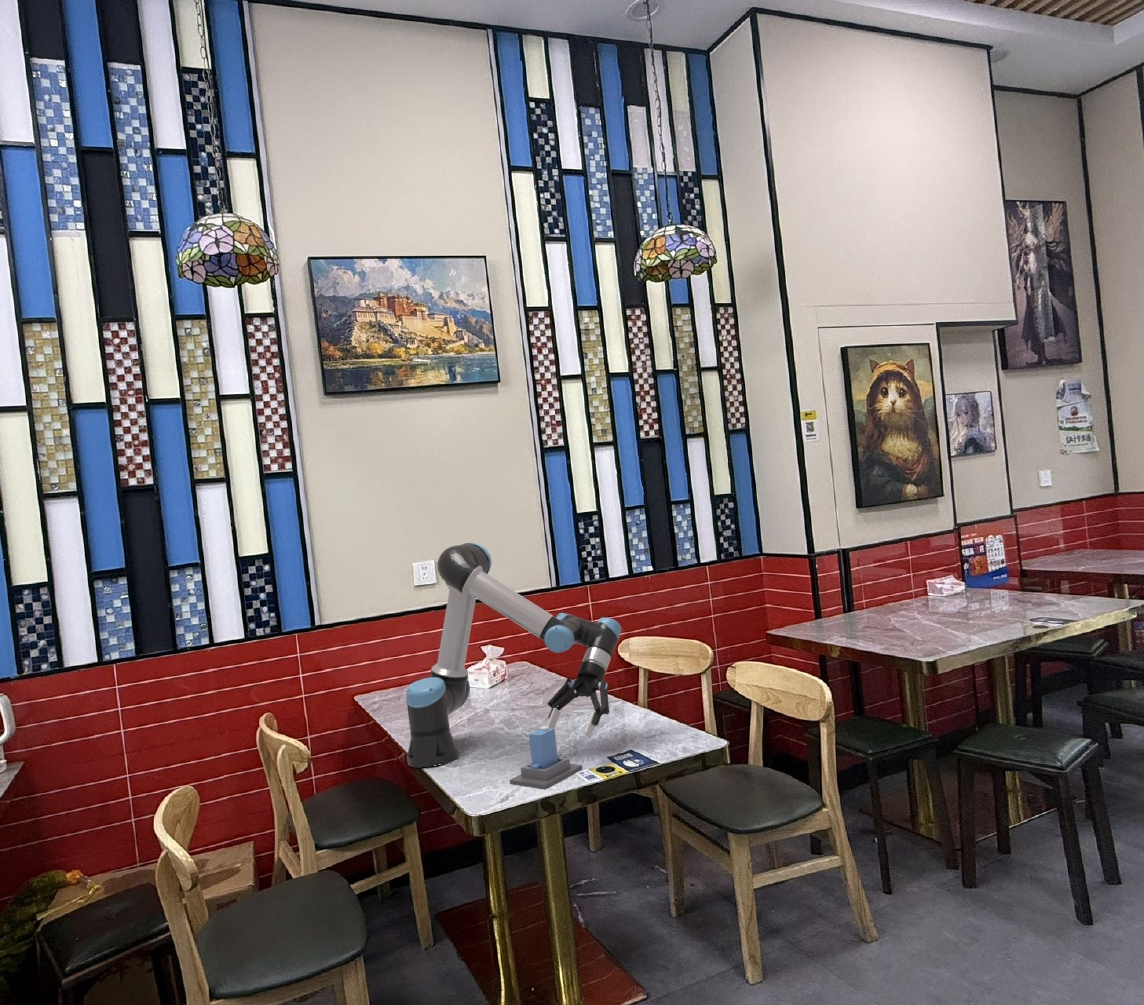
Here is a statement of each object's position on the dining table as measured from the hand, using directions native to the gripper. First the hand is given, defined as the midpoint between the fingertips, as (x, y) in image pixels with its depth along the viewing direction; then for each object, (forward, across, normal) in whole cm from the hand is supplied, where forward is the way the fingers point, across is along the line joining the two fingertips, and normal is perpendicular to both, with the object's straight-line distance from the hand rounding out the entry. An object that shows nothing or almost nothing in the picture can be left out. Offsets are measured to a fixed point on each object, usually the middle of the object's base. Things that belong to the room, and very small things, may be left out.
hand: (567, 733), depth 230 cm
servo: (+13, 0, +2) cm, 13 cm away
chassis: (+14, 0, +2) cm, 14 cm away
